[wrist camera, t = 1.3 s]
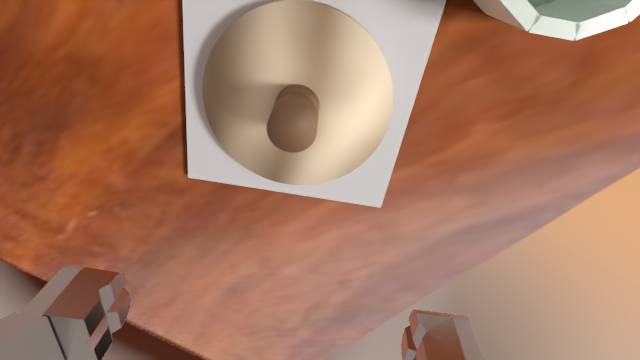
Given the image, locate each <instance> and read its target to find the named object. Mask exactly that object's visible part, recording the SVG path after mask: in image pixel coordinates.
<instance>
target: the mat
mask: <svg viewBox="0 0 640 360" xmlns="http://www.w3.org/2000/svg"><path fill="white" fill-rule="evenodd" d="M274 1H279V0H182V5H183V36H184V67H185V97H186V128H187V159H188V178H195V179H201V180H207V181H214V182H220V183H227V184H233V185H239V186H246V187H252V188H258V189H265V190H271V191H278V192H284V193H290V194H297V195H303V196H310V197H316V198H322V199H329V200H335V201H341V202H348V203H354V204H361V205H367V206H373V207H380V208H381V205H382V202H383V199H384V196H385V192H386V189H387V186H388V183H389V180H390V177H391V173H392V170H393V167H394V164H395V161H396V158H397V155H398V151H399V148H400V145H401V142H402V139H403V136H404V132H405V129H406V126H407V123H408V120H409V117H410V114H411V110H412V107H413V104H414V101H415V98H416V95H417V91H418V88H419V85H420V82H421V79H422V76H423V72H424V69H425V66H426V63H427V60H428V57H429V54H430V50H431V47H432V44H433V41H434V38H435V35H436V31H437V28H438V25H439V22H440V19H441V16H442V13H443V9H444V6H445V3H446V0H313V1H316V2H320V3H324V4H327V5H330V6H332V7H334V8H337V9H339V10H341V11H342V12H344V13H346V14H347V15H349V16H351V17H352V18H353V19H354V20H356V21H357V22H358V23H359V24H361V25H362V26H363V27H364V28H365V29H366V31H367V32H368V33H369V34H370V35H371V36H372V38H373V39H374V40H375V42H376V43H377V45H378V46H379V48H380V50H381V52H382V54H383V56H384V58H385V60H386V63H387V66H388V68H389V71H390V75H391V80H392V85H393V110H392V115H391V119H390V123H389V126H388V128H387V131H386V133H385V135H384V137H383V139H382V141H381V143H380V144H379V146H378V147H377V149H376V150H375V151H374V153H373V154H372V155H371V156H370V157H369V158H368V159H367V160H366V161H365V162H364V163H363V164H361V165H360V166H359V167H358V168H356V169H355V170H353V171H352V172H350V173H348V174H346V175H344V176H342V177H340V178H338V179H335V180H332V181H329V182H325V183H321V184H314V185H290V184H284V183H279V182H275V181H272V180H269V179H266V178H263V177H261V176H259V175H257V174H255V173H253V172H251V171H250V170H248V169H246V168H245V167H244V166H242V165H241V164H240V163H238V162H237V161H236V160H235V159H234V158H233V157H232V156H231V155H229V154H228V152H227V151H226V150H225V149H224V148H223V146H222V145H221V144H220V142H219V141H218V139H217V138H216V136H215V135H214V133H213V131H212V129H211V127H210V125H209V122H208V119H207V116H206V113H205V108H204V104H203V93H202V85H203V75H204V70H205V65H206V62H207V60H208V57H209V54H210V52H211V50H212V48H213V46H214V45H215V43H216V41H217V40H218V39H219V37H220V36H221V35H222V33H223V32H224V31H225V30H226V29H227V28H228V27H229V26H230V25H231V24H232V23H233V22H234V21H236V20H237V19H239V18H240V17H241V16H243V15H244V14H245V13H247V12H249V11H251V10H253V9H254V8H256V7H258V6H261V5H264V4H267V3H270V2H274Z"/></svg>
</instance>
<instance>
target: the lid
mask: <svg viewBox="0 0 640 360" xmlns="http://www.w3.org/2000/svg"><path fill="white" fill-rule="evenodd" d="M202 93H203V104H204V108H205V113H206V116H207V119H208V122H209V125H210V127H211V129H212V131H213V133H214V135H215V136H216V138H217V139H218V141H219V142H220V144H221V145H222V146H223V148H224V149H225V150H226V151H227V152H228V154H229V155H231V156H232V157H233V158H234V159H235V160H236V161H237V162H238V163H240V164H241V165H242V166H244V167H245V168H246V169H248V170H250V171H251V172H253V173H255V174H257V175H259V176H261V177H263V178H266V179H269V180H272V181H275V182H279V183H284V184H290V185H314V184H321V183H325V182H329V181H332V180H335V179H338V178H340V177H342V176H344V175H346V174H348V173H350V172H352V171H353V170H355V169H356V168H358V167H359V166H360V165H361V164H363V163H364V162H365V161H366V160H367V159H368V158H369V157H370V156H371V155H372V154H373V153H374V151H375V150H376V149H377V147H378V146H379V144H380V143H381V141H382V139H383V137H384V135H385V133H386V131H387V128H388V126H389V123H390V119H391V115H392V110H393V85H392V80H391V75H390V71H389V68H388V66H387V63H386V60H385V58H384V56H383V54H382V52H381V50H380V48H379V46H378V45H377V43H376V42H375V40H374V39H373V38H372V36H371V35H370V34H369V33H368V32H367V31H366V29H365V28H364V27H363V26H362V25H361V24H359V23H358V22H357V21H356V20H354V19H353V18H352V17H351V16H349V15H347V14H346V13H344V12H342V11H341V10H339V9H337V8H334V7H332V6H330V5H327V4H324V3H320V2H316V1H313V0H279V1H274V2H270V3H267V4H264V5H261V6H258V7H256V8H254V9H253V10H251V11H249V12H247V13H245V14H244V15H243V16H241V17H240V18H239V19H237V20H236V21H234V22H233V23H232V24H231V25H230V26H229V27H228V28H227V29H226V30H225V31H224V32H223V33H222V35H221V36H220V37H219V39H218V40H217V41H216V43H215V45H214V46H213V48H212V50H211V52H210V54H209V57H208V60H207V62H206V65H205V70H204V75H203V85H202Z"/></svg>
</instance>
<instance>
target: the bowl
mask: <svg viewBox="0 0 640 360" xmlns="http://www.w3.org/2000/svg"><path fill="white" fill-rule="evenodd" d="M473 1H474V2H475V3H476V4H477V6H478V7H479V8H480V9H481V10H482V11H483V12H484V13H485V14H487V15H489V16H492V17H494V18H496V19H499V20H501V21H503V22H506V23H508V24H511V25H513V26H515V27H518V28H520V29H522V30H525V31H527V32H530V33H535V34H541V35H546V36H551V37H557V38H562V39H567V40H572V41H573V40H579V39H582V38H585V37H588V36H591V35H594V34H597V33H600V32H603V31H606V30H609V29H612V28H615V27H618V26H621V25H624V24H627V23H628V21H632V20H633V19H634V18H635V17H637V16H638V15H639V14H640V0H473Z"/></svg>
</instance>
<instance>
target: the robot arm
mask: <svg viewBox="0 0 640 360" xmlns="http://www.w3.org/2000/svg"><path fill="white" fill-rule="evenodd" d="M126 283H127V280H126V277H125V274H123V273H118V272H112V271H105V270H99V269H93V268H85V267H78V266H71V265H67V266H65V267H63V268H61V269H60V270H59V271H58V272H57V273H56V275H55V276H54V277H53V278H52V279H51V280H50V281H49V282H48V283H47V284H46V286H45V287H44V288H43V289H42V290H41V291H40V292H39V293H38V294H37V295H36V296H35V297H34V298H33V300H32V301H31V302H30V303H29V304H28V305H27V306H26V307H25V308H24V309H23V310H22V312H21V313H12V314H10V315H8V316H6V317H4V318H2V319H0V360H102V358H103V357H104V355H105V353H106V352H107V350H108V348H109V347H110V345H111V343H112V342H113V341H112V335H111V334H112V333H113V332H115V331H116V330H118V329H119V328H121V327H122V325H123V323H124V322H125V320H126V318H127V315H128V312H129V309H130V302H131V299H130V294H129V292H128V291H127V290H125V289H124V288H123V287H124V286H125V284H126ZM409 321H410V326H408V327H406V328H405V330H404V333H403V337H402V345H401V346H402V359H403V360H484V357H483V355H482V352H481V349H480V346H479V343H478V341H477V338H476V335H475V332H474V330H473V327H472V324H471V321H470V319H469V318H468V317H467V316H461V315H453V314H447V313H438V312H430V311H421V310H413V311H412V312H411V314H410V317H409Z"/></svg>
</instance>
